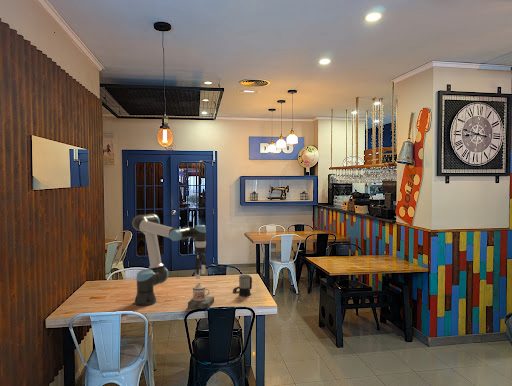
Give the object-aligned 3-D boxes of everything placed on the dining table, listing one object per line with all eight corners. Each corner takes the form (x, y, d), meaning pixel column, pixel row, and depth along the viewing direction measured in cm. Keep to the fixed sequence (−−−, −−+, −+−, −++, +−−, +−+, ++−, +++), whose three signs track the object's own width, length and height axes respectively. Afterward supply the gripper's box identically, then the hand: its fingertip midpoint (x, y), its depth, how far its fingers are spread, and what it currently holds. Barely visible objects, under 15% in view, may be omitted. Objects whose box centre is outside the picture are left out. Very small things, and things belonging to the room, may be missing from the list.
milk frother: (249, 297, 285) (248, 277, 285) (229, 295, 289) (229, 276, 288) (253, 291, 299) (253, 273, 299) (234, 290, 303) (234, 272, 302)
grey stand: (187, 308, 261) (187, 302, 261) (194, 301, 276) (194, 295, 276) (208, 309, 259) (208, 303, 259) (214, 302, 274) (214, 296, 274)
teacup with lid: (193, 302, 262) (192, 285, 262) (192, 298, 271) (192, 282, 271) (210, 300, 265) (209, 284, 264) (209, 296, 274) (208, 281, 273)
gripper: (200, 250, 253) (200, 281, 254) (210, 243, 278) (210, 272, 279) (190, 249, 254) (190, 280, 255) (200, 243, 279) (200, 271, 280)
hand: (200, 276), depth 267 cm, fingers open, 13 cm apart
